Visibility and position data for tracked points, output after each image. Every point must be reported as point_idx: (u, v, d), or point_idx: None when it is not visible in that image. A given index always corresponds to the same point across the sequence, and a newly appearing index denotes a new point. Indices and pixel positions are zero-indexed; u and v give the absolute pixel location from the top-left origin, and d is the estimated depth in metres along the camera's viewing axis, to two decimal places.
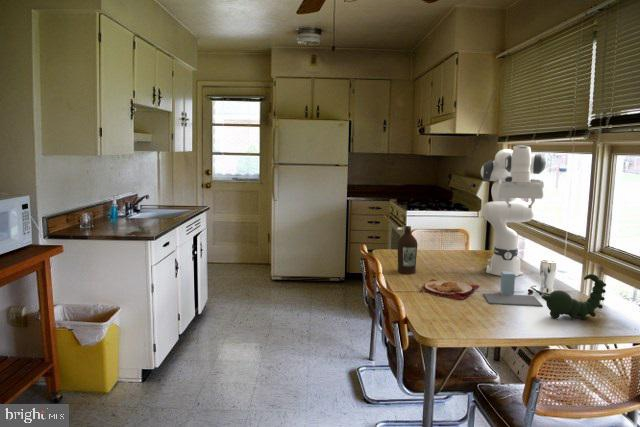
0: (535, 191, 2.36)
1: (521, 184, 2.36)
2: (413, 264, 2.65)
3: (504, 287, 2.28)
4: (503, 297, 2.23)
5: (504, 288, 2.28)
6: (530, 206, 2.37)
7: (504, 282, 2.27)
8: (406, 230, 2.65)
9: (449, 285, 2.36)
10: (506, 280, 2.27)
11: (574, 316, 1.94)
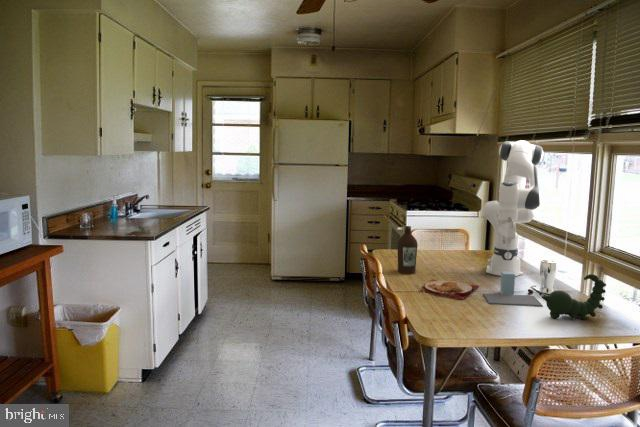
0: (506, 230, 2.28)
1: (500, 221, 2.34)
2: (413, 264, 2.65)
3: (504, 287, 2.28)
4: (503, 297, 2.23)
5: (504, 288, 2.28)
6: (505, 245, 2.32)
7: (504, 282, 2.27)
8: (406, 230, 2.65)
9: (449, 285, 2.36)
10: (506, 280, 2.27)
11: (574, 316, 1.94)
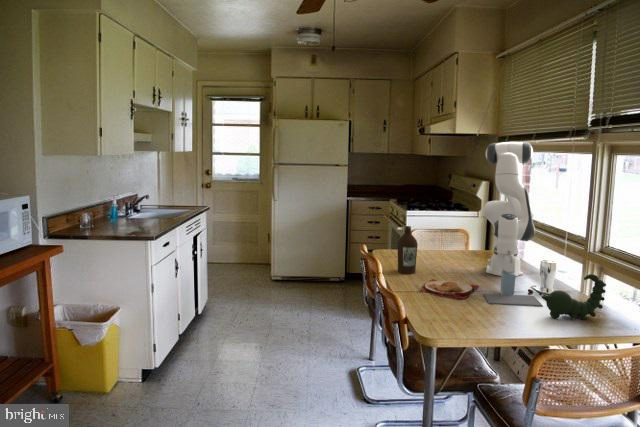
0: (505, 264, 2.27)
1: (499, 254, 2.33)
2: (413, 264, 2.65)
3: (504, 287, 2.27)
4: (503, 297, 2.23)
5: (504, 288, 2.27)
6: None
7: (504, 282, 2.27)
8: (406, 230, 2.65)
9: (449, 285, 2.37)
10: (506, 280, 2.27)
11: (574, 316, 1.94)
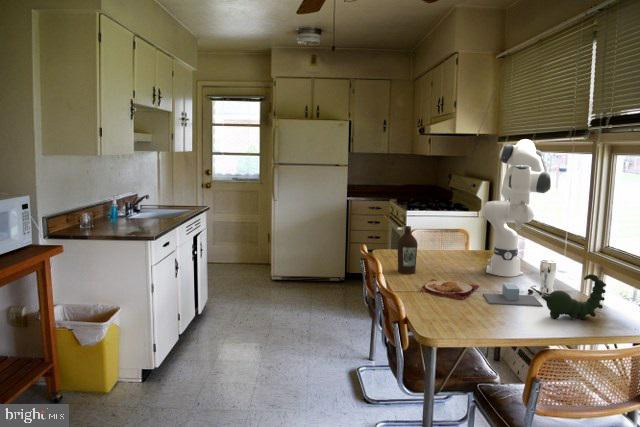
0: (518, 214, 2.25)
1: (512, 205, 2.32)
2: (413, 264, 2.65)
3: None
4: (503, 297, 2.23)
5: None
6: (516, 227, 2.32)
7: None
8: (406, 230, 2.65)
9: (449, 285, 2.37)
10: None
11: (574, 316, 1.94)
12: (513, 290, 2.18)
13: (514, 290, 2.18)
